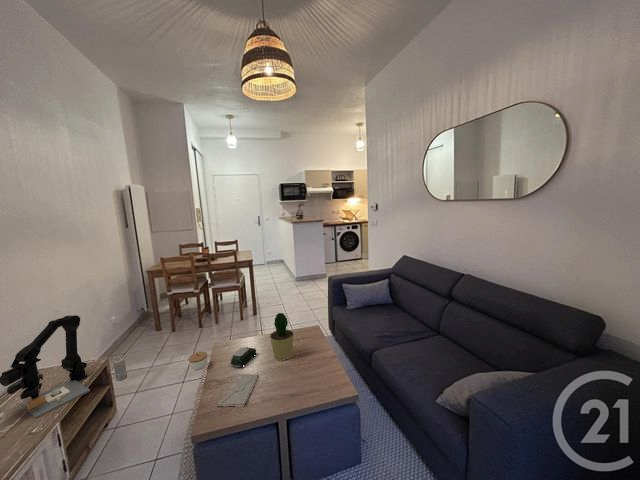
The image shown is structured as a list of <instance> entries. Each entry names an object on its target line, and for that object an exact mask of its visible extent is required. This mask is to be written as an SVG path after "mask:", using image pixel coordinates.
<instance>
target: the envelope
mask: <svg viewBox="0 0 640 480" xmlns="http://www.w3.org/2000/svg"><path fill="white" fill-rule="evenodd" d="M238 376H239V377H240V376H241V378H240V379H241V380H240V379H238ZM257 376H258V377H259V374H257V373H254V374H249V373H248V374H241V373H240V374H235V375H233V377H232V379H231V381H230V383H232V381H233V380H234V378H235V381H236V385H237V386H235V387H234V391H233V392H231V393H230V394H229V395H227V396H226V397H224V398H223V399H222V398H221V397H220V399H222V400H220V399H219V400H218V402H217V404H232V405H245V402H246V400H247V398H248V396H249V394H250V391H251V389H252V387H253V385H254V383H255V381H256V382H257V380H256V378H257ZM257 379H258V378H257ZM230 383H229V384H228V386H227V387H229V386H230ZM255 384H256V383H255ZM254 386H255V385H254ZM253 388H254V387H253ZM252 390H253V389H252ZM226 391H227V390H226V389H225V391H224V392H223V394H225V393H226ZM251 392H252V391H251ZM233 394H234V395H233ZM231 395H232V396H231ZM250 395H251V394H250ZM230 396H231V399H229V400H227V401H226V403H225V402H224V403H221V402H223V401H224V400H226V399H227V398H228V397H230ZM232 397H233V398H232ZM249 397H250V396H249ZM248 399H249V398H248ZM247 401H248V400H247ZM245 406H246V405H245Z"/></svg>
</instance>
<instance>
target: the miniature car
mask: <svg viewBox="0 0 640 480" xmlns="http://www.w3.org/2000/svg"><path fill="white" fill-rule="evenodd" d="M254 355H256V356H257V349H256V348H255V347H248V346H245V347H240V348H239V349H238V350H236V351H235V352H234V353H233V355H232V357H231V360H230V363H229V365H230V366H231V367H237V368H242V367H243V365H245V366H246V364H247V363H248V362H249V361H250V360H251V359H252V358H254V357H253V356H254Z"/></svg>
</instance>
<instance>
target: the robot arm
mask: <svg viewBox="0 0 640 480" xmlns="http://www.w3.org/2000/svg"><path fill="white" fill-rule="evenodd" d="M80 325H81V317H80V316H79V315H75V314H74V315H65V316H63V317H60V318H56V319H54V320H53V319H52V320H50V321H49V322H48V324H47V325H46V326H45V327H44V328H43V330H41V332H40V333H39V334H37V336H36V337H35V338H34V339H33V341H31V342H30V343H29V344H28V345H26V346H24V347H22V348H21V349H20V350H19V351H18V352H17V353H16V354H15V358H14V359H13V362H12V364H11V365H10V368H9V369H8V370H6V371H3V372H1V375H0V385H1V386H3V387H7V386H8V387H7V389H6V392H7V394H8V395H9V394H10V396H12V395H14V394H15V393H16V392H18V391H20V390H23V391H22V392H20V395H19V397H20V400H25V399H27V398H30V399H31V398H32V399H35V398H37V397H38V395H40V392H41V388H42V385H43V382H41V381H43V380H44V378H45V377H44V374H43V373H40V370H38V365H37V363H38V362H41V361H42V359H41V358H38V356H39V355H40V353H41V350H42V347H43V346H44V345H45V344H46V342H47V341H48V340H49V339H50V338H51V336H53V334H54V333H55V332H56V331H57V330H58V329H59V328H61V327H62V329H63V330H64V332H65V357H64V358H63V359H61V366H60V367H62V369H63V370H65V371H66V372H69V373H68V381H73V380H76V381H78V382H80V381H81V380H83V379H86V378H87V377H88V375H86V370H85V369H86V368H87V365H88V364H87V362H83V361H82V358H81V356H80V355H79V353H78V335H77V334H78V333H77V332H78V331H77V330H78V328H79V327H80Z"/></svg>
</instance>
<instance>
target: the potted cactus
mask: <svg viewBox="0 0 640 480" xmlns="http://www.w3.org/2000/svg"><path fill="white" fill-rule="evenodd" d="M289 324H290V323H289V320H288V315H286V314H285V312H283V313H282V312H278V313H277V314H276V315H275V318H274V322H273V326H274V327H275V328H274V329H275V330H274V331H273V332H271V333H270V335H269V339H270V343H271V346H272V347H271V348H272V351H273V356H274V358H276V359H278V360H277V361H279V360H284V359H287V358H289V357H290V356H291V355H293V344H294V332H293V331H292V330H290V329H287V328H288V327H289ZM291 357H292V356H291ZM276 359H275V360H276ZM289 359H290V358H289ZM287 360H288V359H287ZM284 361H285V360H284Z"/></svg>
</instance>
